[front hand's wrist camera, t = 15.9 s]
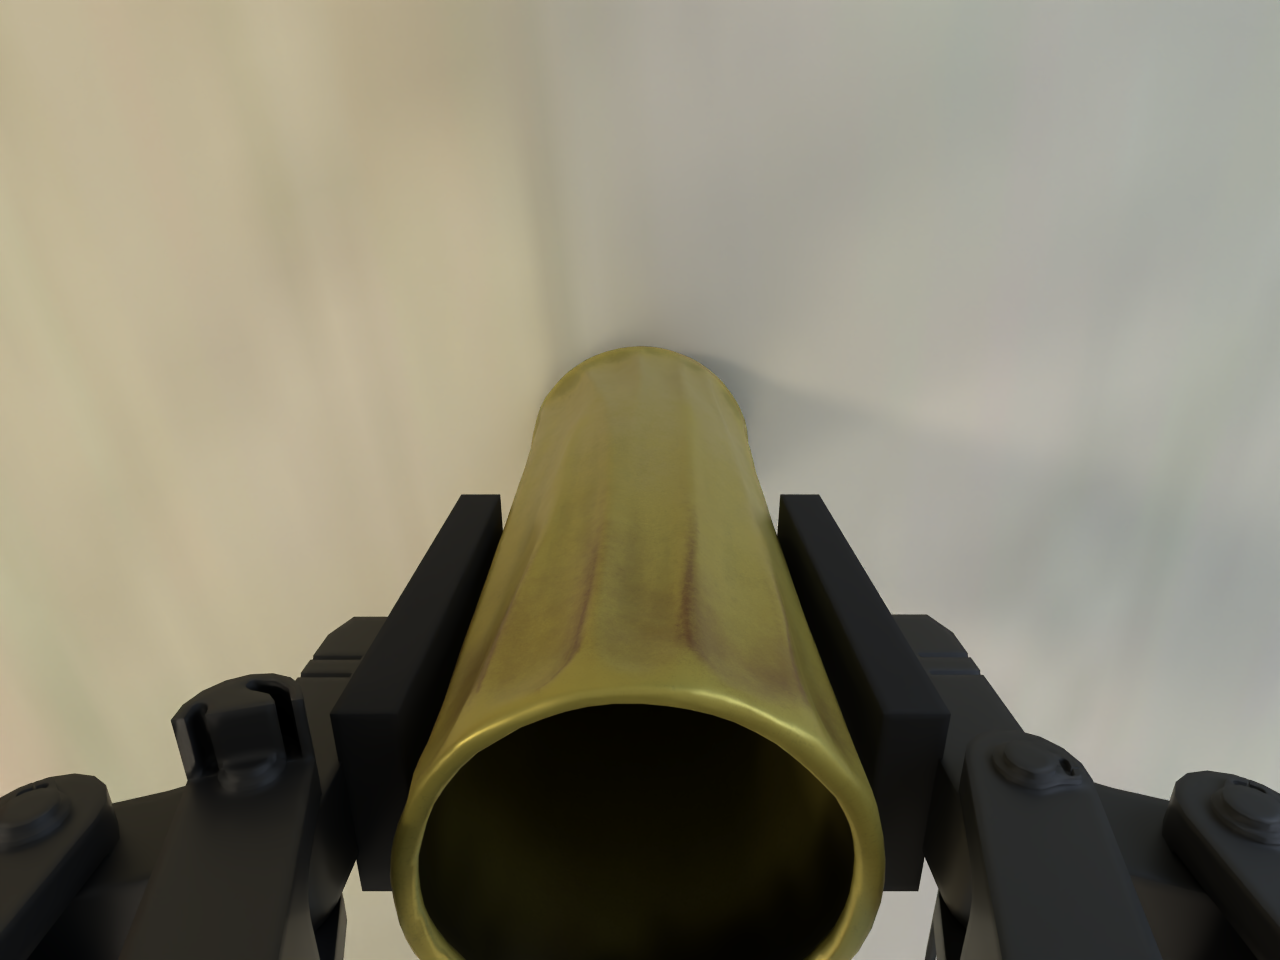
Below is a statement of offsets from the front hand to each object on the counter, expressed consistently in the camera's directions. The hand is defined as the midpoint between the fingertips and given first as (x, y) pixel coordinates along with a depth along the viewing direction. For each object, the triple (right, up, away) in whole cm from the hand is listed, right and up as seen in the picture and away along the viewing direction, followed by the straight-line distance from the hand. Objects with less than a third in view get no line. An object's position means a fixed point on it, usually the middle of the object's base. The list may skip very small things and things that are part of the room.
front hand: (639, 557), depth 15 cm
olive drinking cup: (0, +2, +6) cm, 7 cm away
